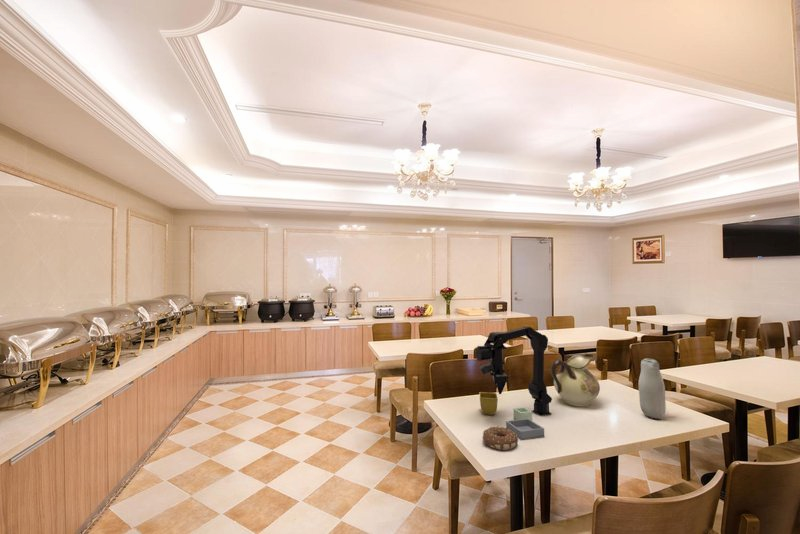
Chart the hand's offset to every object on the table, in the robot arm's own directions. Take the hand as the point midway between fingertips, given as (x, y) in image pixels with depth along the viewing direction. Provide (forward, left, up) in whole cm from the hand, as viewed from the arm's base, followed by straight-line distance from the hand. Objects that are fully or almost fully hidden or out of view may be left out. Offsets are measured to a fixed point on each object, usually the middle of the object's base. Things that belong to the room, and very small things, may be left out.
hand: (498, 390), depth 166 cm
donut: (+13, +23, -14) cm, 30 cm away
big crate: (-3, +17, -14) cm, 22 cm away
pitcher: (-52, -8, -14) cm, 54 cm away
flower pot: (+1, -8, -14) cm, 16 cm away
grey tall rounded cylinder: (-73, +18, -14) cm, 76 cm away
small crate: (-10, +5, -14) cm, 17 cm away
